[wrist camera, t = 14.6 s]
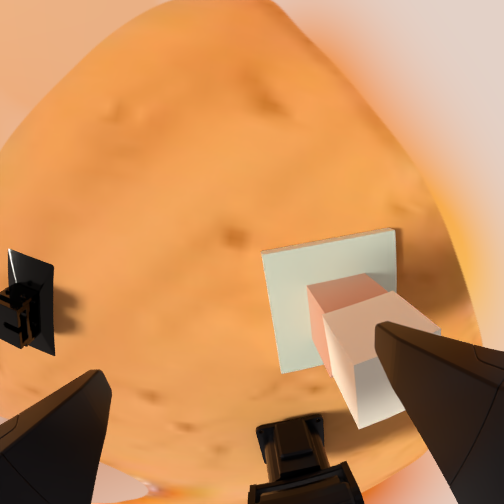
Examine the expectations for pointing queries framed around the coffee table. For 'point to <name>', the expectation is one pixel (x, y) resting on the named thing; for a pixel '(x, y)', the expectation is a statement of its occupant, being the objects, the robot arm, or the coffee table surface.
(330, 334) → the cream brick
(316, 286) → the terracotta brick
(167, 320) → the coffee table surface
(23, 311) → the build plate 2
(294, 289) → the plate
